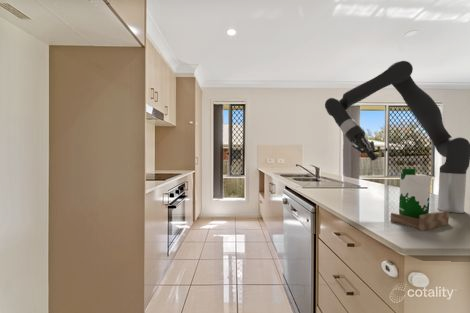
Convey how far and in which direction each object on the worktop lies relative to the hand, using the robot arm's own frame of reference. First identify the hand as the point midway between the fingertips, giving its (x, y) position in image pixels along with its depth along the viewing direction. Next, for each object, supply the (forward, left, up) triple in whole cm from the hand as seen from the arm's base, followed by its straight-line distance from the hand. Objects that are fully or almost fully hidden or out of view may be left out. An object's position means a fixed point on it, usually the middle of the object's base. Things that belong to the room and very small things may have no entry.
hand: (375, 159), depth 110 cm
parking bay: (+1, +17, -23) cm, 29 cm away
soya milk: (+1, +16, -23) cm, 28 cm away
